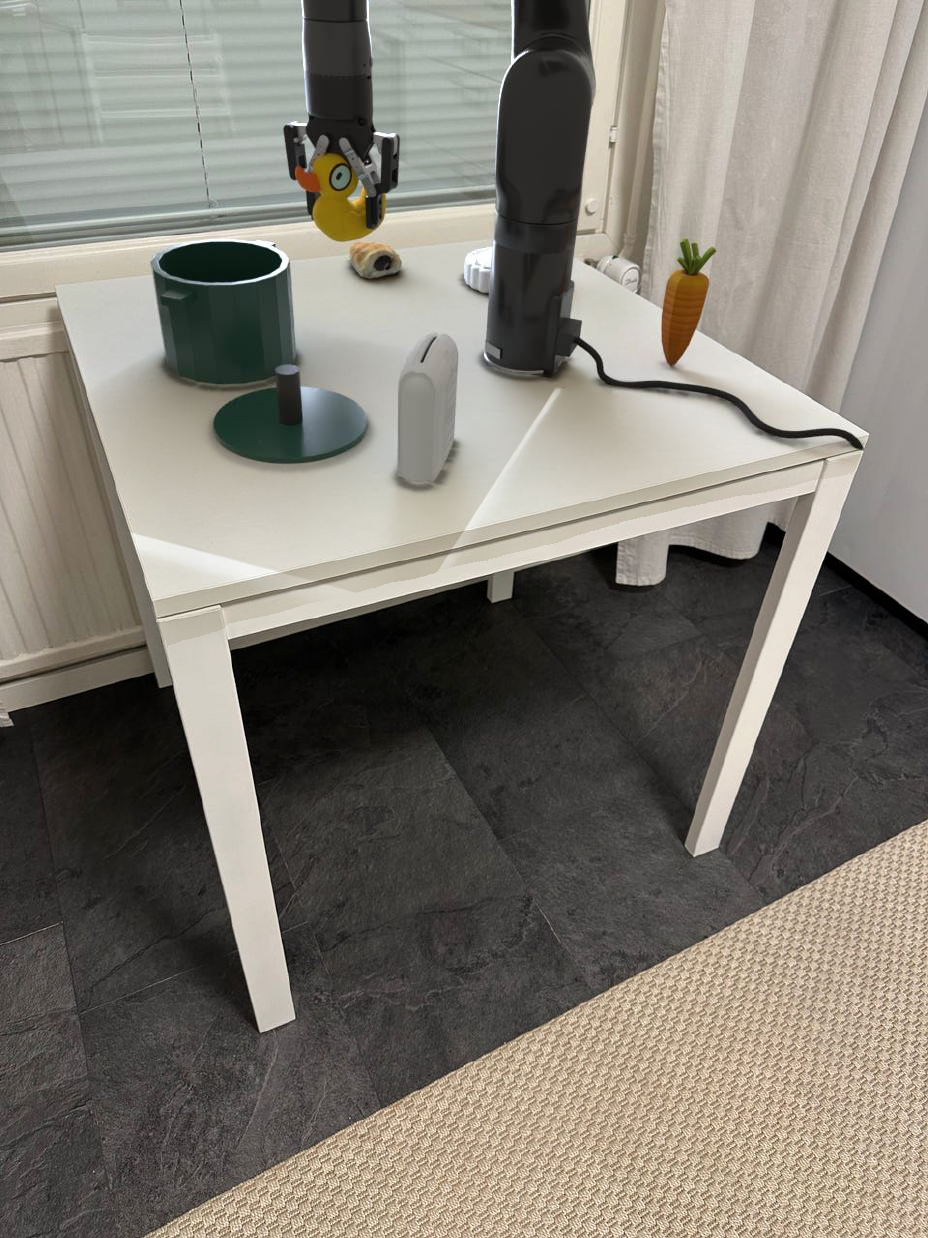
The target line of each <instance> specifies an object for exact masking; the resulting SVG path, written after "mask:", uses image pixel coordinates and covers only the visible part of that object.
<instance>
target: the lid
mask: <svg viewBox="0 0 928 1238" xmlns="http://www.w3.org/2000/svg"><path fill="white" fill-rule="evenodd" d="M274 377H275V386H274V387H267V388H263V389H258V390H253V391H250V392H247V393H244V394H242V395H239V396H236V397H235V398H233V399H231V400H229V401H228V402H227V403H225V404H223V406H222V407H220V408H219V409H218V411H217V412H216V414H215V416H214V418H213V421H212V425H213V433H214V435H215V438H216V439H217V441H218V442H219V443H220V444H221V445H222V446H223V447H224V448H225V449H227V450H229V451H230V452H232V453H234V454H237V455H239V456H241V457H244V458H247V459H250V460H255V461H258V462H259V461H260V462H264V463H273V464H274V463H275V464H298V463H299V464H301V463H309V462H315V461H320V460H324V459H328V458H331V457H332V458H333V457H335V456H337V455H340V454H343V453H344V452H346V451H348V450H350V449H351V448H353V447H354V446H356V445H357V444H358V443H359V442H360V441H361V440H362V439H363V438H364V436H365V434H366V432H367V429H368V417H367V415H366V412H365V410H364V409H363V408H362V407H361V405H360V404H359V403H357V402H356V401H355V400H353V399H352V398H350V397H348V396H346V395H343V394H341V393H338V392H336V391H332V390H329V389H324V388H319V387H312V386H301V385H302V384H301V371H300V367H298V366H297V365H295V364H293V365H281V366H278V367H277V368H276V369H275V376H274Z"/></svg>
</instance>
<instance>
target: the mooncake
mask: <svg viewBox="0 0 928 1238" xmlns="http://www.w3.org/2000/svg"><path fill="white" fill-rule="evenodd" d="M491 259H492V246H488V247H482V248H478V249H474V250H473V251H471V252H469V253H467V254H466V257H465V259H464V269H463V270H464V272H463V273H464V274H463V279H464V280H465V284H466V285H467V286H470V288H471V289H473V290H474V291H475V290H476V291H478V292H480V293H482V294H489V287H490V273H491Z"/></svg>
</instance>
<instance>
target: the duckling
mask: <svg viewBox="0 0 928 1238" xmlns="http://www.w3.org/2000/svg"><path fill="white" fill-rule="evenodd" d="M295 176H296V179H297V180H296V181H297V183H298V185H299V187H301V188H302V189H303V190H304V191H306V190H307V191H309V192H320V194H321V196H320V197H319V198H318V199H317V201H316V203H315V205H314V208H313V219H314V220H313V222H314V223H315V226H316V227H317V228H318V230H319V231H320V232H322V233H323V234H324V235H325V236H326V237H328V238H329V239H330V240H333V241H335V242H339V243H345V242H351V241H356V240H360V239H363V238H365V237H367V236H369V235H370V234H372V233H373V232H375V231H376V230H377V229H378V228H380V226H381V225H382V223H383V222H384V220H385V216H386V207H387V193H383V195H382V208H383V209H382V210H383V212H382V213H383V218H382V221H381V222H380V223H379V224H378V227H376V228H375V229H373V230H372V229H367V228H366V205H365V197H366V196H368V194H367V192H366V190H365V188H364V186H363V185H362V186H363V187H362V189H361V193H360V197H357V198H355V199H354V200H353V201H351V200H350V199H349V198H350V197H351V196H352V195H353V194H354V193H355V192H356V190H357V188H358V185H359V183H360V182H359V181H360V179H358V178H357V177H356V175H355V173H354V171H353V169H350V166H349V165H348V164H347V162H346V161H345V160H344V158H342V157H341V156H340V155H338V154H333V153H326V154H325V155H324V156H323V157H319V158H318V159H317V160H316V161H315V162H314V165H313V173H308V172H305V171H304V170H303V169H302V167H301V166H297V167H296V169H295Z"/></svg>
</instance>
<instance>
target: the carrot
mask: <svg viewBox="0 0 928 1238" xmlns="http://www.w3.org/2000/svg"><path fill="white" fill-rule="evenodd" d="M679 245H680V250H681V252H682V256H683V257H677V258H676V261H677V262H678V264H679V265H680V266H681V267H682V269H676V270H674V271H672V272H671V274H670V276H669V277H668V279H667V282H666V285H665V290H664V291H665V292H664V297H663V306H662V311H661V328H660V329H661V333H660V334H661V344H662V345H661V346H662V351H663V355H664V358H665V362H666V364H668V366H669V367H674V366H675V365H676V364H677V363H678V362H679V361H680V359H681V358H682V357H683V356H684V354H685V352H686V351H687V349H688V348H689V346H690V344H691V341H692V339H693V338H694V337H693V336H694V335H695V332H696V330H697V328H698V325H699V323H700V320H701V317H702V315H703V314H702V313H703V309H704V306H705V302H706V299H707V294H708V291H709V287H710V278H709V277H708V276H707V275H706V274H704V273H703V272H701V270H702V268H703V267H704V266H705V265H706V264H707V262H708V261H709V260H710V259H711V257H712V256H713V255H714V254H715V253H717V249H716V248H715V247H714V246H711V247H709V248H708V249H707V250H706V251H705V252H704V254H703V255H702V256H701V255H700V250H699V244H698V242H692V243H691V244H690V241H689V238H682V239H681V240H680V241H679Z"/></svg>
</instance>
